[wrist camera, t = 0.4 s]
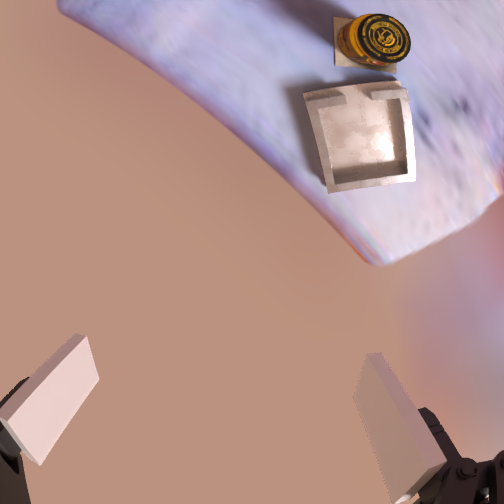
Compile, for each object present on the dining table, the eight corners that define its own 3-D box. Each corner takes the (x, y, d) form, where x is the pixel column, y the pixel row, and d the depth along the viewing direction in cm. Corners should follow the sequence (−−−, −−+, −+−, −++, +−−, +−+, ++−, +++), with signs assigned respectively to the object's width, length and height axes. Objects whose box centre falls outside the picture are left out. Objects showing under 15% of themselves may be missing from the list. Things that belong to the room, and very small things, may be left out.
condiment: (332, 16, 23) (348, 0, 14) (395, 26, 22) (434, 19, 13) (335, 65, 28) (352, 70, 19) (395, 73, 26) (434, 85, 17)
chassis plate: (302, 92, 31) (303, 96, 29) (397, 79, 27) (406, 82, 24) (326, 187, 40) (328, 198, 37) (408, 174, 36) (416, 185, 33)
